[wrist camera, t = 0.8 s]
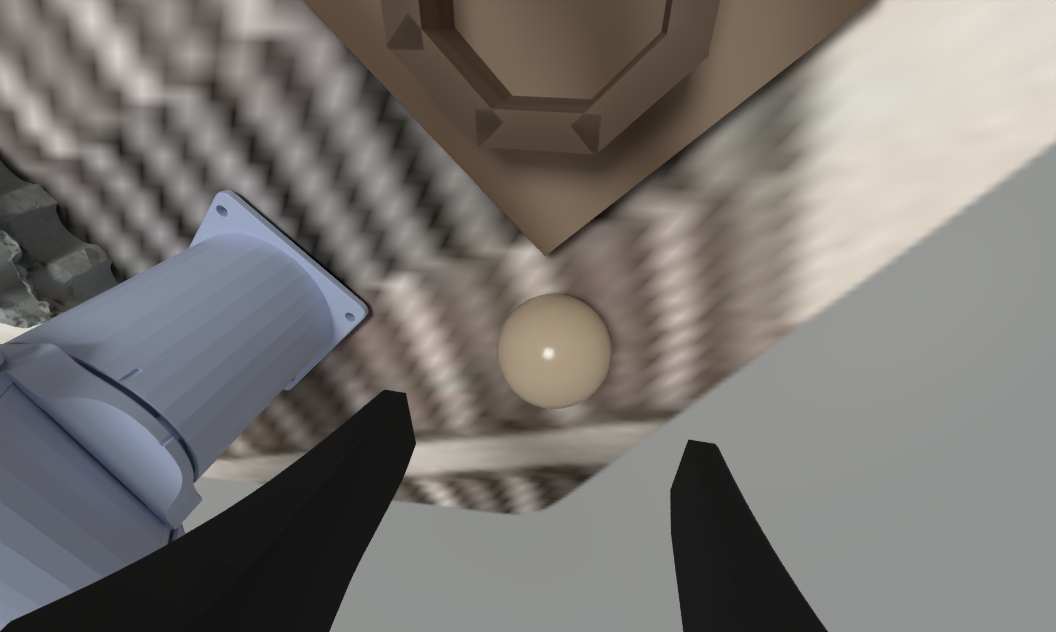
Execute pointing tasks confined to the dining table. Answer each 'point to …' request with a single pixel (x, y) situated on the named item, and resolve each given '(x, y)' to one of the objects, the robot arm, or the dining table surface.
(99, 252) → the egg carton
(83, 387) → the robot arm
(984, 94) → the dining table surface
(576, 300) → the egg
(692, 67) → the egg stand
